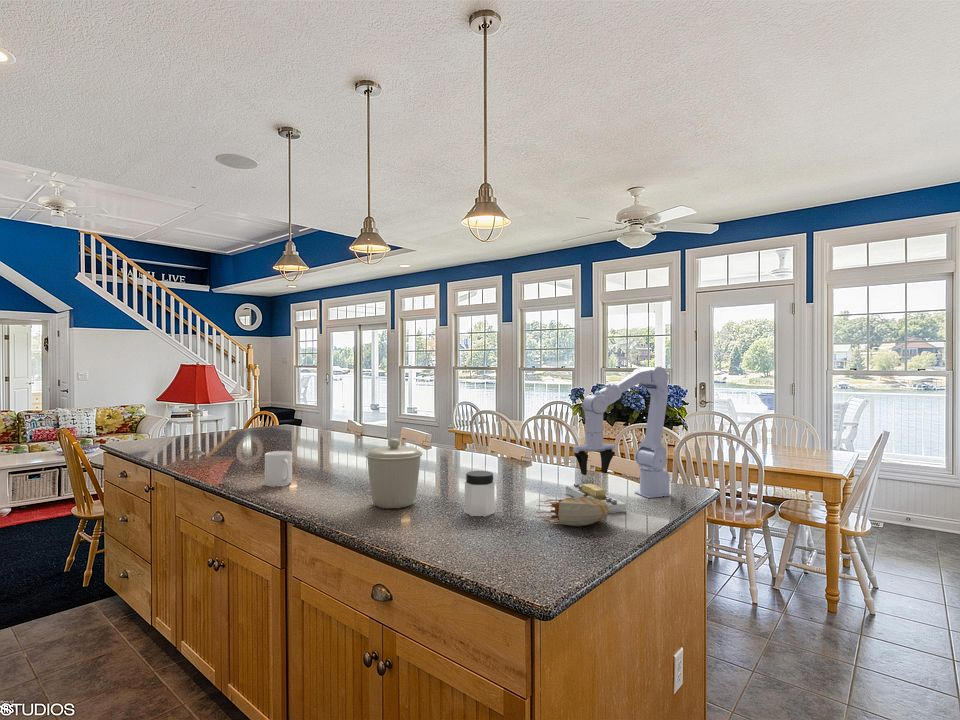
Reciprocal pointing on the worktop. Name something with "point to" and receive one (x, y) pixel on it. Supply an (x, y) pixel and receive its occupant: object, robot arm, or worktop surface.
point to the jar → (479, 493)
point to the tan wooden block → (594, 491)
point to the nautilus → (577, 511)
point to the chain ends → (611, 502)
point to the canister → (393, 474)
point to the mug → (278, 468)
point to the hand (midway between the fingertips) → (594, 473)
